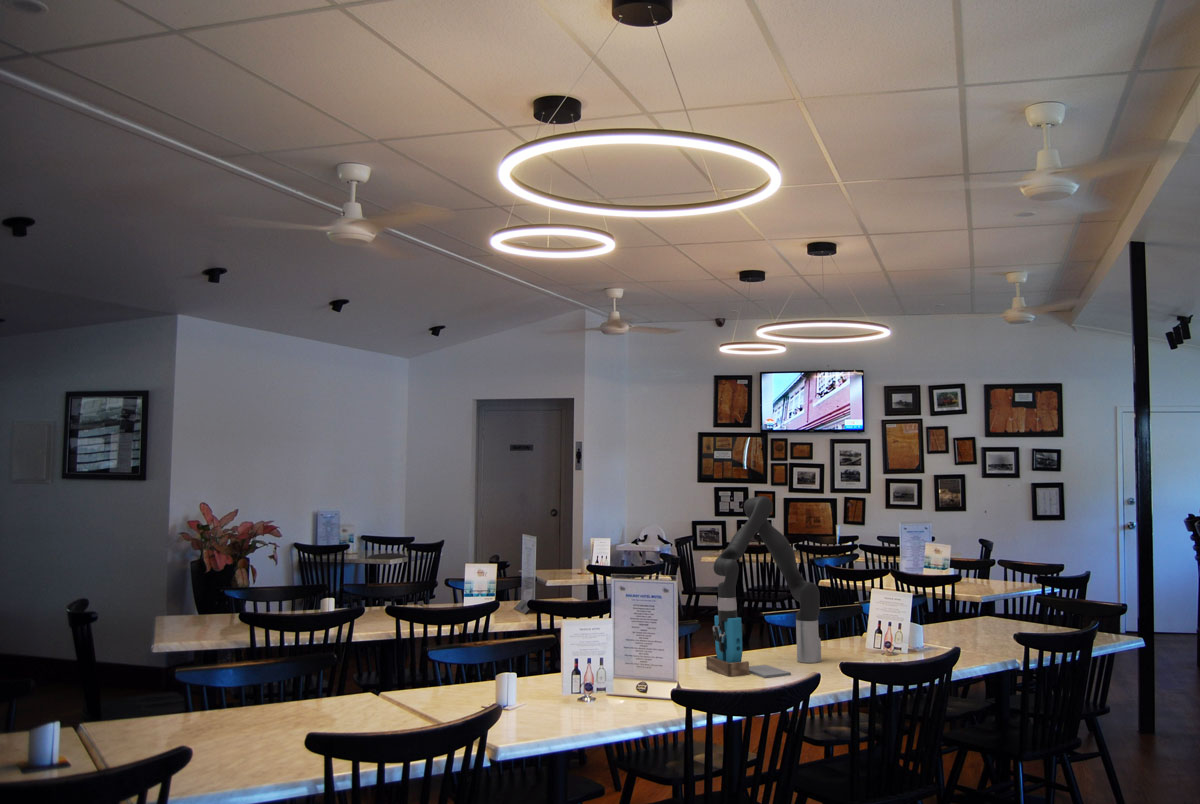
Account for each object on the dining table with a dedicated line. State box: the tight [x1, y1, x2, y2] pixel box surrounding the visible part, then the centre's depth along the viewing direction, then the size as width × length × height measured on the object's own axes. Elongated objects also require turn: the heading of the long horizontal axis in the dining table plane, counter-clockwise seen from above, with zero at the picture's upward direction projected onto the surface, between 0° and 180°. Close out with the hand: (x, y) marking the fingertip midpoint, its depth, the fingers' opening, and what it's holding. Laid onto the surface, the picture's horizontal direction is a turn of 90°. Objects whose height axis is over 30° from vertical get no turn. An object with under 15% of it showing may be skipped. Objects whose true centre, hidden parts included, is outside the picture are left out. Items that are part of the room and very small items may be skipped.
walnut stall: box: [705, 654, 750, 678], centre depth 364 cm, size 9×17×5 cm, turn 24°
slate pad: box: [749, 664, 792, 679], centre depth 362 cm, size 12×18×1 cm, turn 24°
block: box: [714, 614, 743, 663], centre depth 365 cm, size 12×5×20 cm, turn 32°
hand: (728, 651), depth 365 cm, fingers closed on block, 5 cm apart
